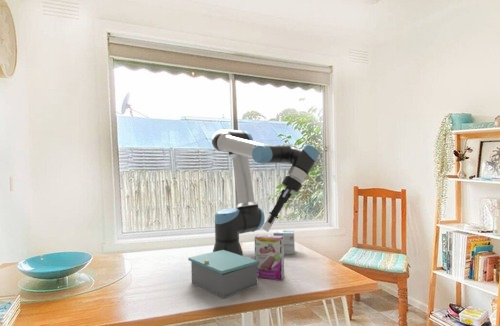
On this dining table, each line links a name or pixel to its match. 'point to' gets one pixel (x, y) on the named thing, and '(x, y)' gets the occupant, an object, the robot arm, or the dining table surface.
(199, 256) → the lid
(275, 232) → the light bulb box
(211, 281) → the chest
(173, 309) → the dining table surface
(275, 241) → the candy bar box
